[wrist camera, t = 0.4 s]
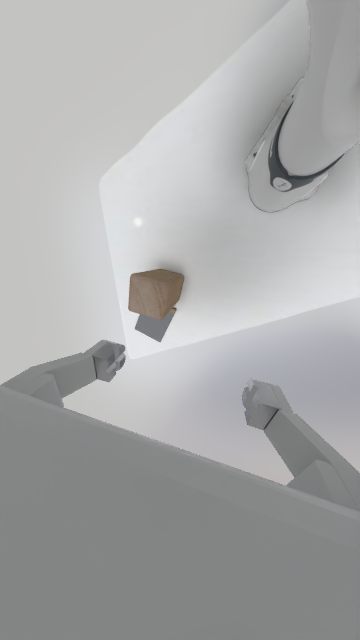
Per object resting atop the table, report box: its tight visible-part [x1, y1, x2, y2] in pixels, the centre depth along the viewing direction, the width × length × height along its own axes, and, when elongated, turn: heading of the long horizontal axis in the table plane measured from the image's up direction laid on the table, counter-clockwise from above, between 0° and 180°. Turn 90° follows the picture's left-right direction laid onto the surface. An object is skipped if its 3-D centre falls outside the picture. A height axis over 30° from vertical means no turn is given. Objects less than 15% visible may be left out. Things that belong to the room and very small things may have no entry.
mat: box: [135, 307, 177, 342], centre depth 58 cm, size 18×13×2 cm
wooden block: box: [128, 269, 184, 320], centre depth 43 cm, size 10×10×20 cm
